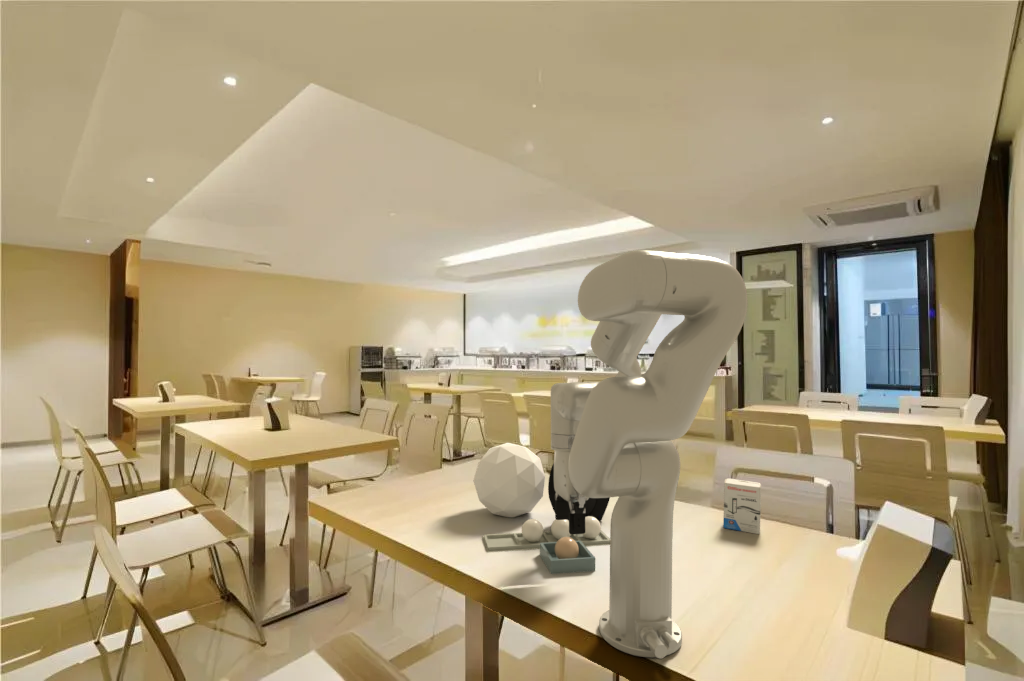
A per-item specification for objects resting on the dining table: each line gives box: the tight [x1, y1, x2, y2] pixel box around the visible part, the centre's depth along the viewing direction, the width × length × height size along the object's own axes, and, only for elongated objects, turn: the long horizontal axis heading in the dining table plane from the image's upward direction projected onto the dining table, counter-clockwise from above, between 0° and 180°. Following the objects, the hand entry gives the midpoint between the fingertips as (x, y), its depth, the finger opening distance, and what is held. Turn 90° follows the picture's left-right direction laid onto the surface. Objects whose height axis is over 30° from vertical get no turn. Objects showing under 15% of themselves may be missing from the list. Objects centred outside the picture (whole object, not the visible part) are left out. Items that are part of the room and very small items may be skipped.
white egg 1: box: [521, 518, 544, 542], centre depth 113 cm, size 5×5×5 cm
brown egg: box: [555, 537, 579, 559], centre depth 102 cm, size 5×5×5 cm
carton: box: [481, 529, 610, 553], centre depth 114 cm, size 9×29×1 cm, turn 101°
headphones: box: [547, 462, 611, 522], centre depth 127 cm, size 19×7×20 cm, turn 129°
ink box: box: [722, 477, 762, 535], centre depth 125 cm, size 9×5×12 cm, turn 62°
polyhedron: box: [473, 442, 546, 518], centre depth 134 cm, size 19×20×20 cm
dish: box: [539, 541, 596, 575], centre depth 102 cm, size 9×9×3 cm
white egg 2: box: [550, 518, 571, 540], centre depth 114 cm, size 5×5×5 cm
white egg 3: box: [582, 516, 602, 539], centre depth 116 cm, size 5×5×5 cm
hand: (569, 526), depth 101 cm, fingers open, 9 cm apart
